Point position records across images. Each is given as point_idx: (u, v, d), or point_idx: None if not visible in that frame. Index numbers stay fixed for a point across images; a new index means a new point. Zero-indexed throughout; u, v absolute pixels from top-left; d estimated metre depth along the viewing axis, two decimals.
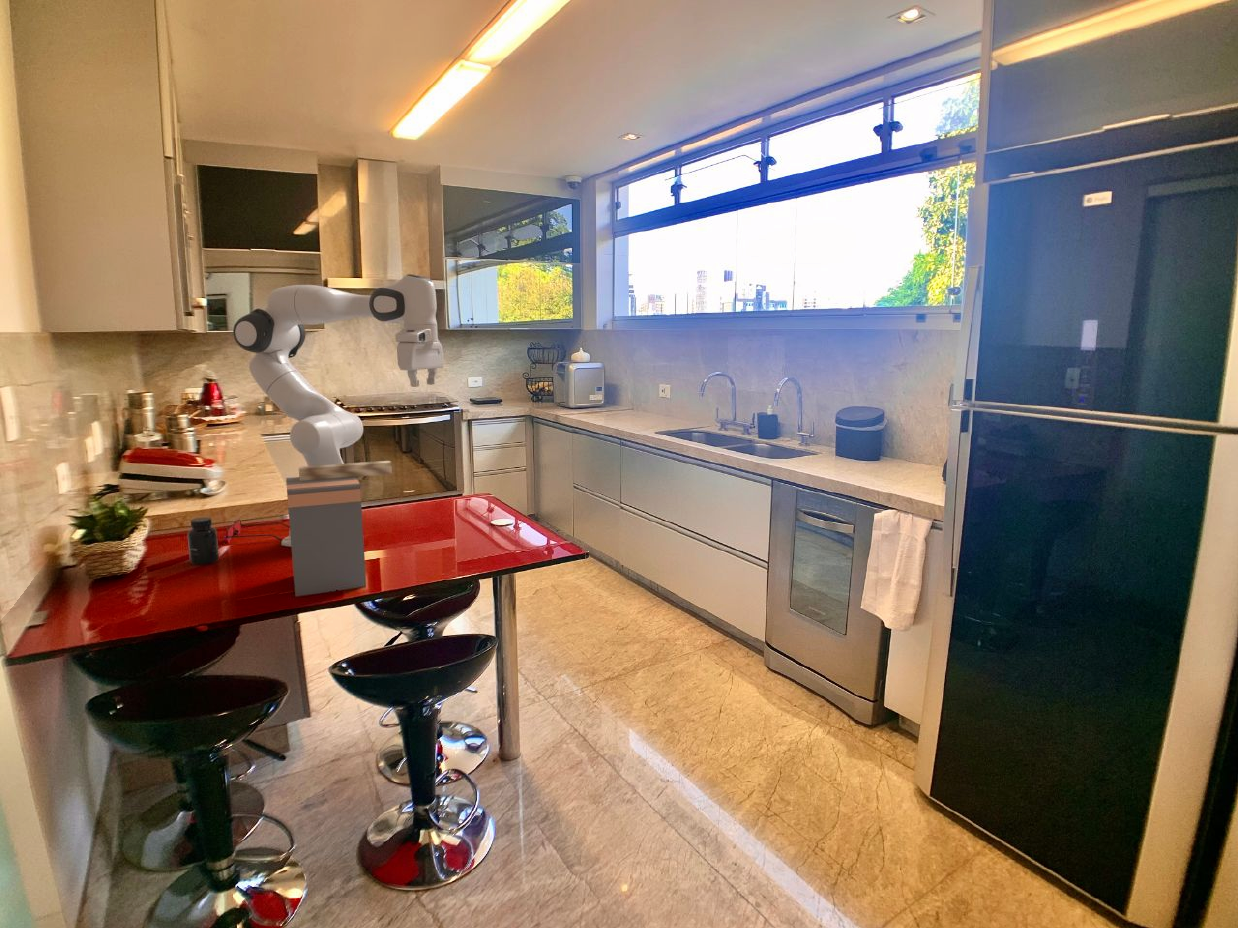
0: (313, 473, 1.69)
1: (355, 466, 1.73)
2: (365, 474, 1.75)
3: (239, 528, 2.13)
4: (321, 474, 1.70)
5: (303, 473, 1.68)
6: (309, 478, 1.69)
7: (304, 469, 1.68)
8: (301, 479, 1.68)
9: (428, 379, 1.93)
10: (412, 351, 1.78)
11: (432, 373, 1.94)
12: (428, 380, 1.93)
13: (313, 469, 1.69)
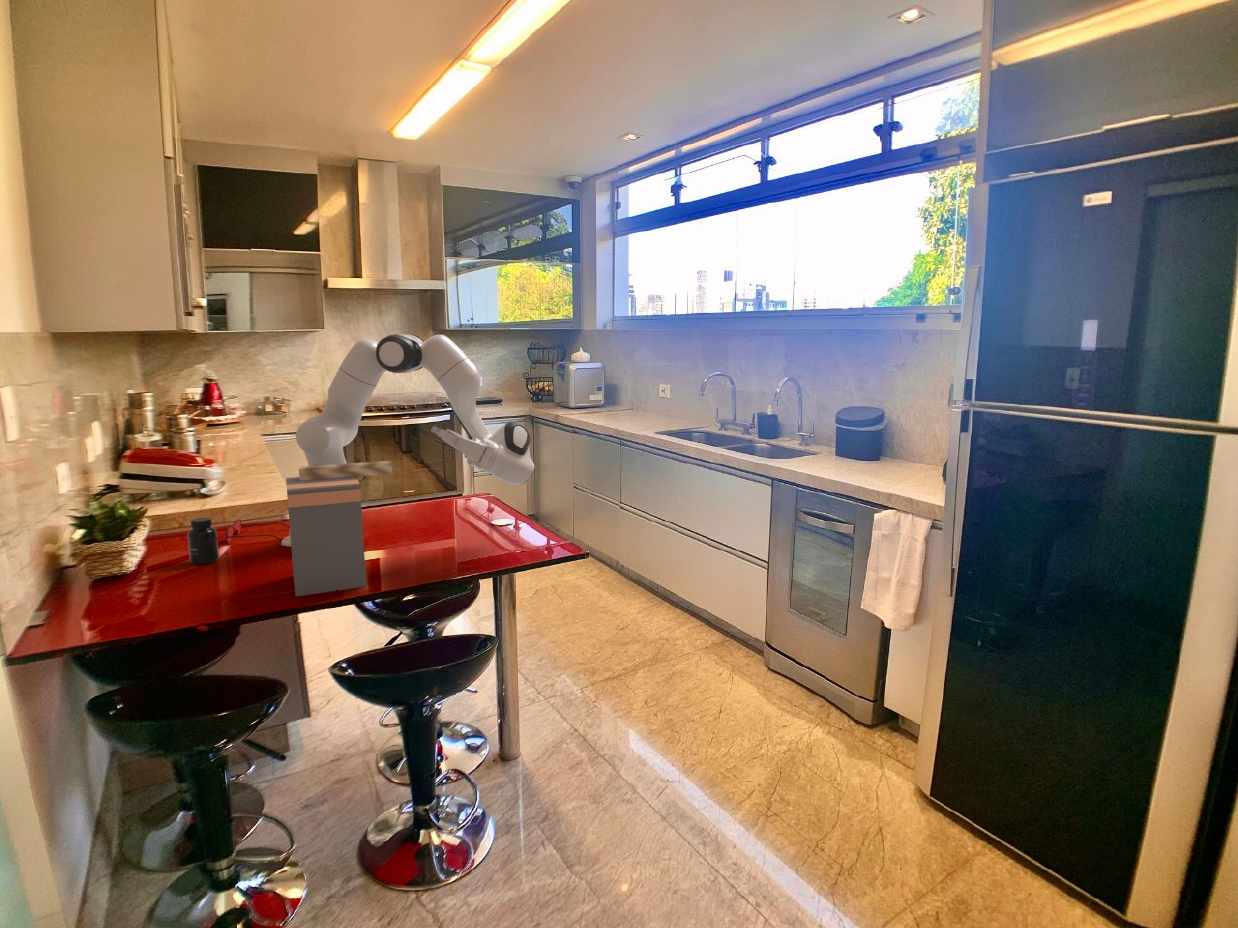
0: (313, 473, 1.69)
1: (355, 466, 1.73)
2: (365, 474, 1.75)
3: (239, 528, 2.13)
4: (321, 474, 1.70)
5: (303, 473, 1.68)
6: (309, 478, 1.69)
7: (304, 469, 1.68)
8: (301, 479, 1.68)
9: (438, 430, 1.87)
10: (472, 458, 1.79)
11: None
12: (438, 429, 1.87)
13: (313, 469, 1.69)
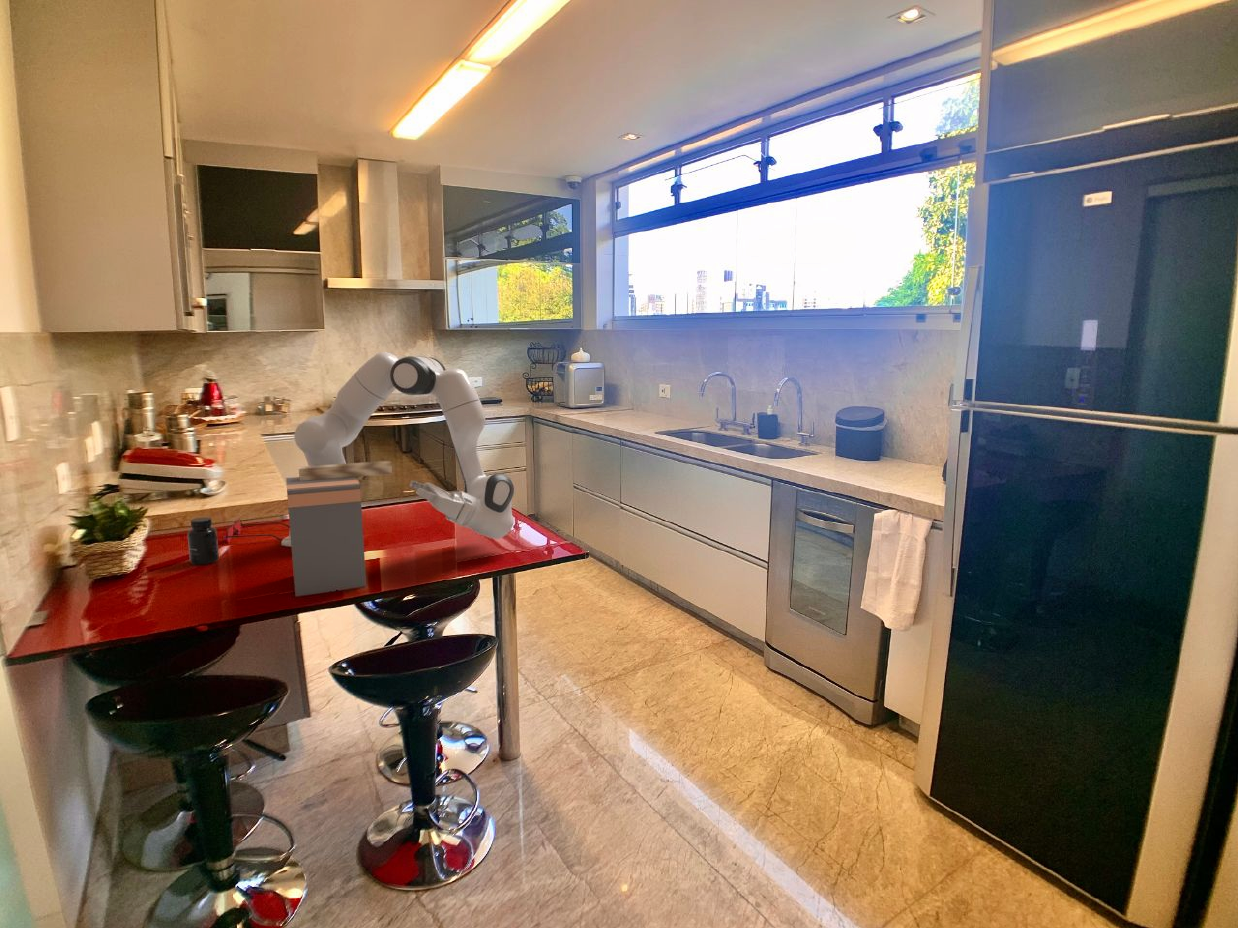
0: (313, 473, 1.69)
1: (355, 466, 1.73)
2: (365, 474, 1.75)
3: (239, 528, 2.13)
4: (321, 474, 1.70)
5: (303, 473, 1.68)
6: (309, 478, 1.69)
7: (304, 469, 1.68)
8: (301, 479, 1.68)
9: (416, 484, 1.87)
10: (449, 516, 1.79)
11: (420, 487, 1.89)
12: (416, 484, 1.87)
13: (313, 469, 1.69)
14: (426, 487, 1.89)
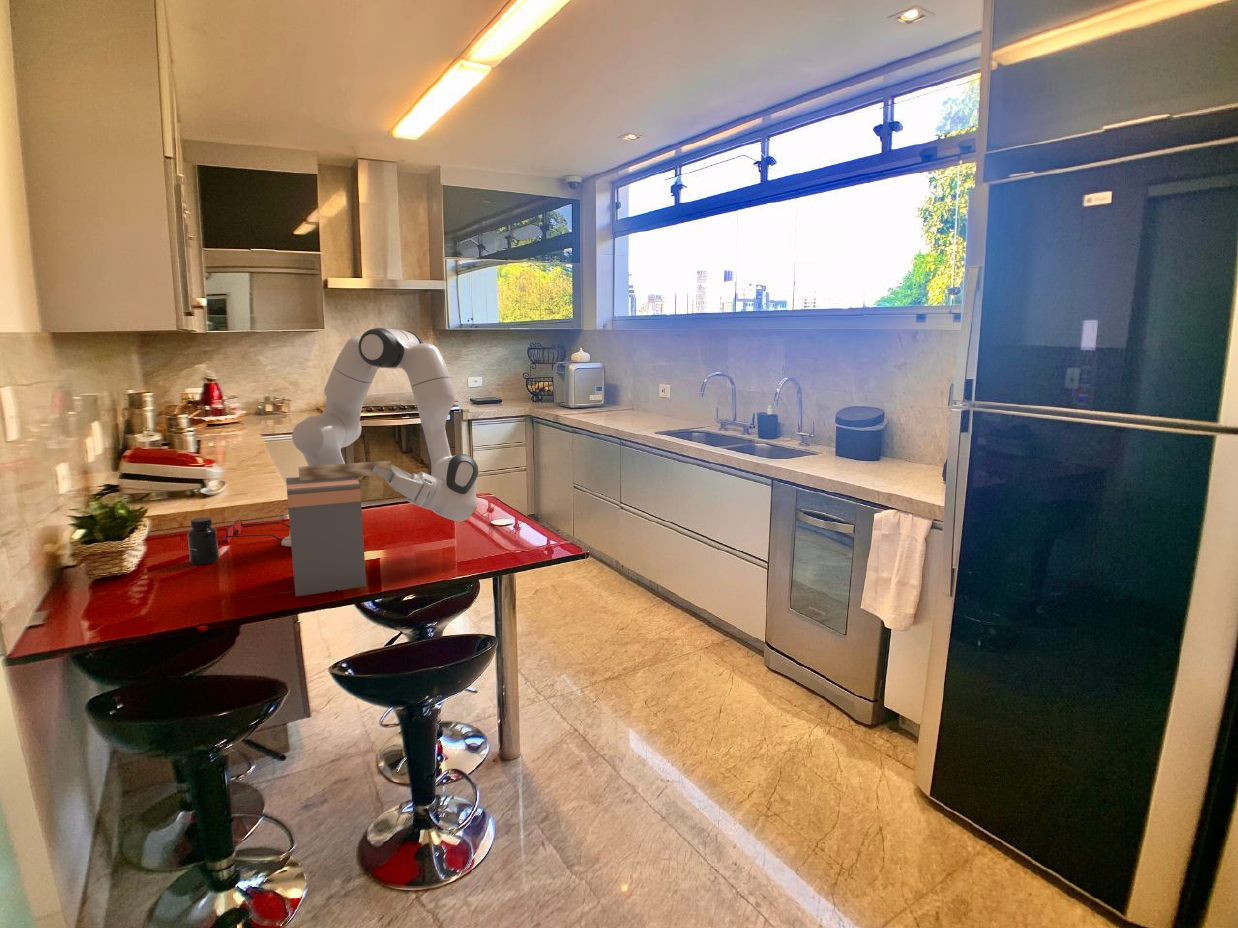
0: (313, 473, 1.69)
1: (355, 466, 1.73)
2: (365, 474, 1.75)
3: (240, 528, 2.13)
4: (321, 474, 1.70)
5: (303, 473, 1.68)
6: (309, 478, 1.69)
7: (304, 469, 1.68)
8: (301, 479, 1.68)
9: None
10: (407, 496, 1.73)
11: None
12: None
13: (313, 469, 1.69)
14: None
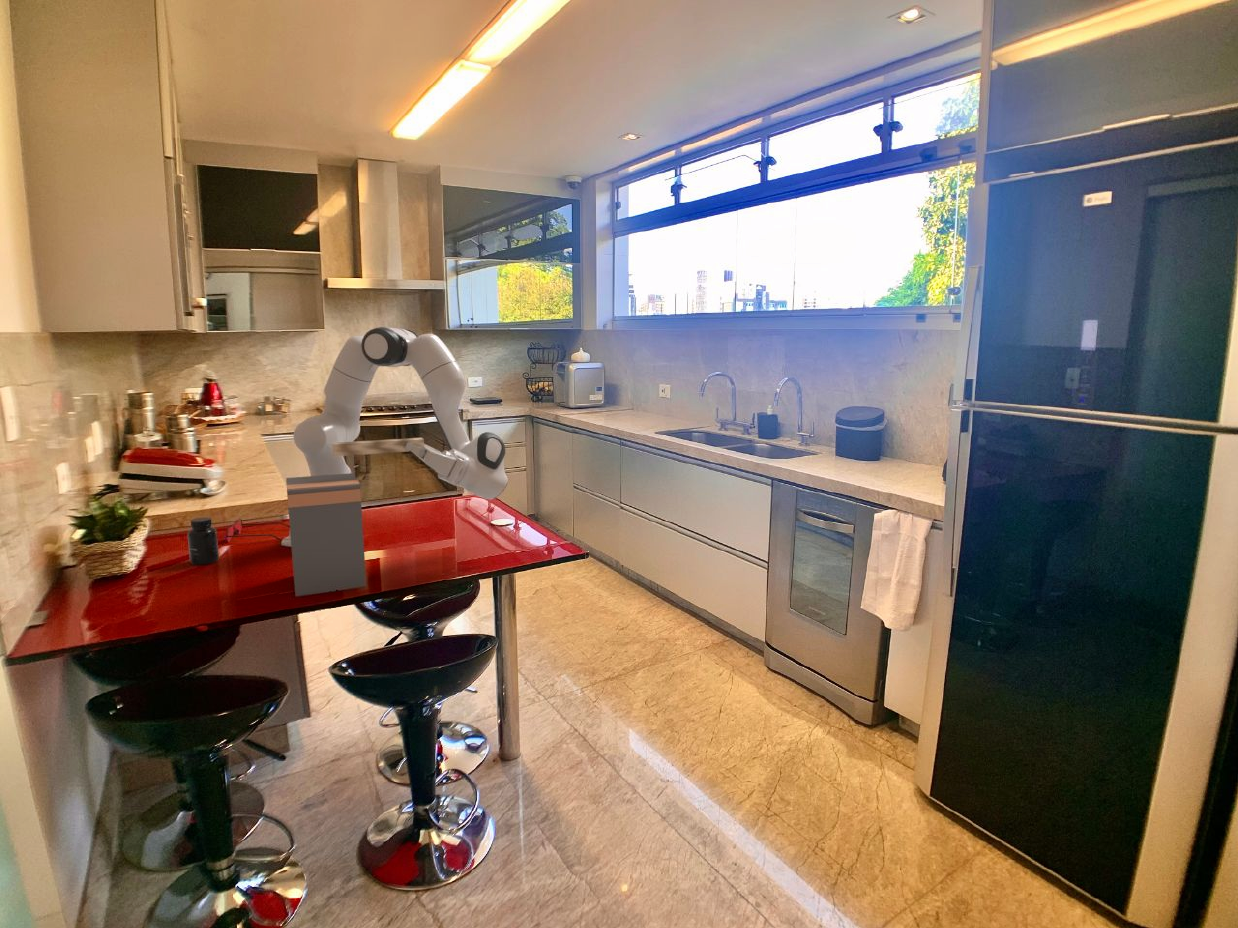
0: (347, 449, 1.69)
1: (388, 442, 1.74)
2: (398, 450, 1.75)
3: (240, 527, 2.13)
4: (355, 449, 1.70)
5: (337, 449, 1.68)
6: (343, 454, 1.69)
7: (338, 445, 1.68)
8: (335, 455, 1.68)
9: None
10: (441, 472, 1.73)
11: None
12: None
13: (347, 445, 1.69)
14: None
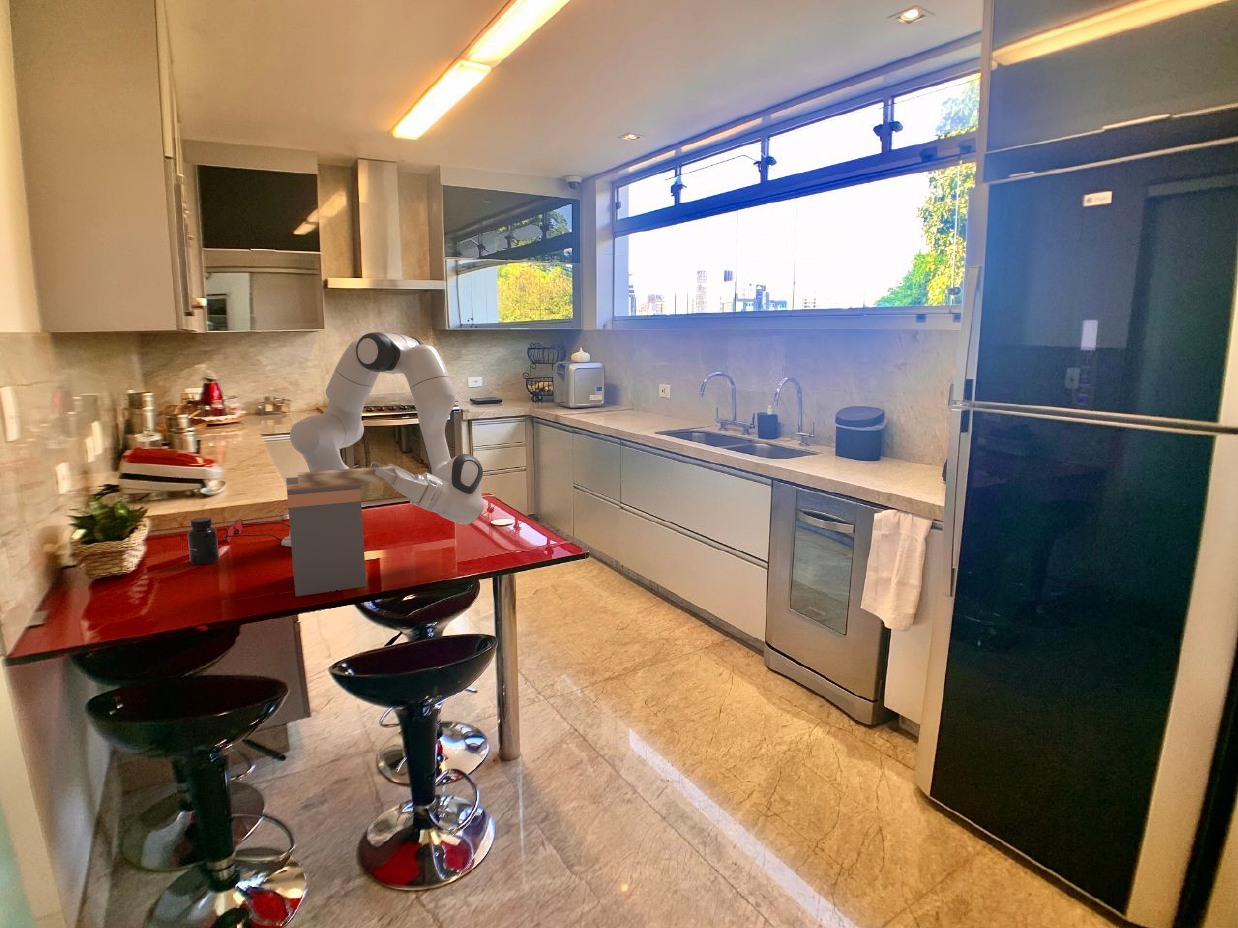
0: (312, 480, 1.61)
1: (357, 472, 1.65)
2: (367, 480, 1.67)
3: (240, 527, 2.13)
4: (321, 480, 1.62)
5: (302, 479, 1.60)
6: (308, 485, 1.61)
7: (303, 475, 1.60)
8: (300, 486, 1.60)
9: (378, 466, 1.72)
10: (411, 499, 1.64)
11: None
12: (377, 465, 1.72)
13: (313, 475, 1.61)
14: None
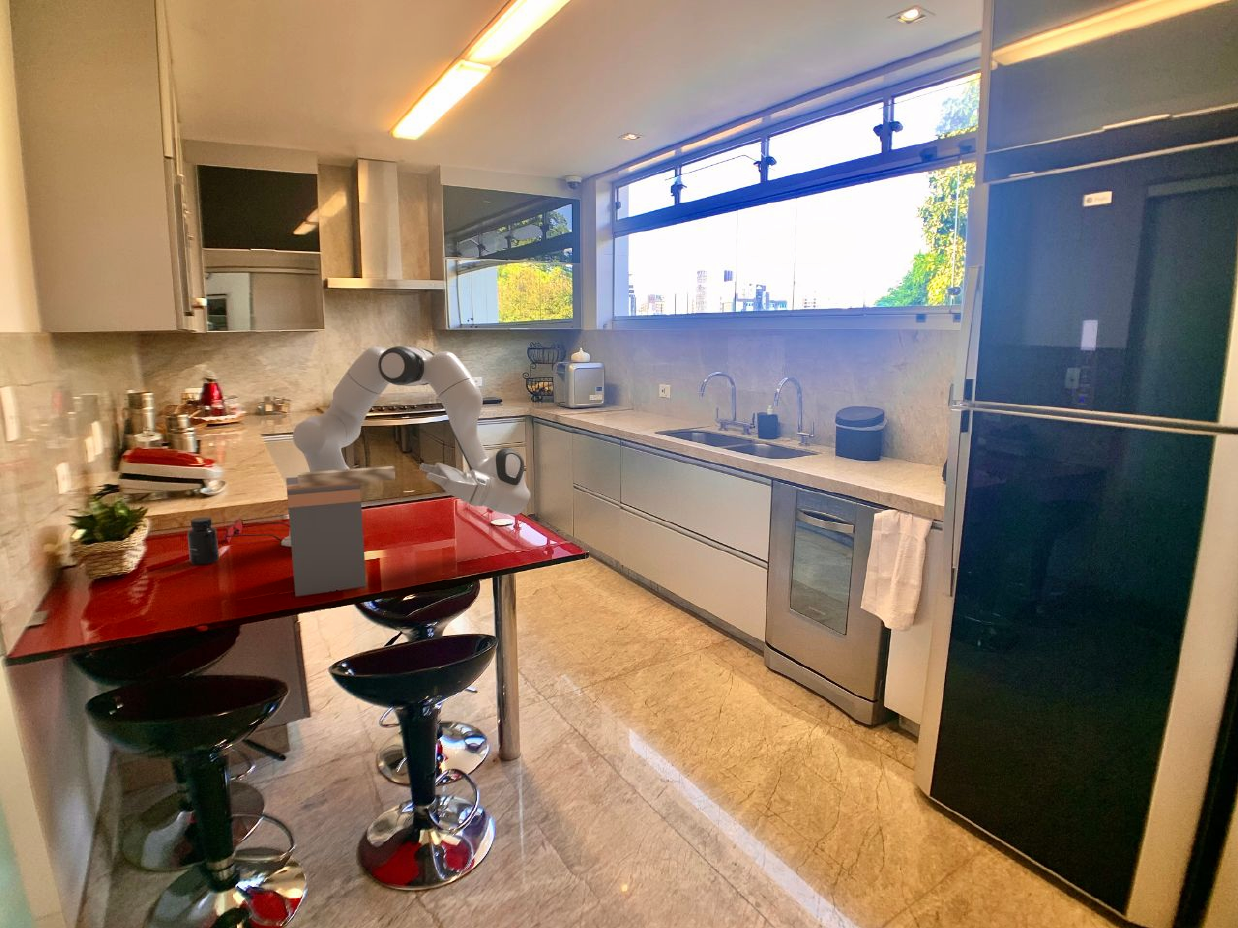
0: (312, 480, 1.61)
1: (357, 472, 1.65)
2: (367, 480, 1.67)
3: (240, 527, 2.13)
4: (321, 480, 1.62)
5: (302, 479, 1.60)
6: (308, 485, 1.61)
7: (303, 475, 1.60)
8: (300, 486, 1.60)
9: (426, 467, 1.79)
10: (463, 499, 1.72)
11: (431, 469, 1.81)
12: (426, 466, 1.79)
13: (313, 475, 1.61)
14: (437, 468, 1.81)
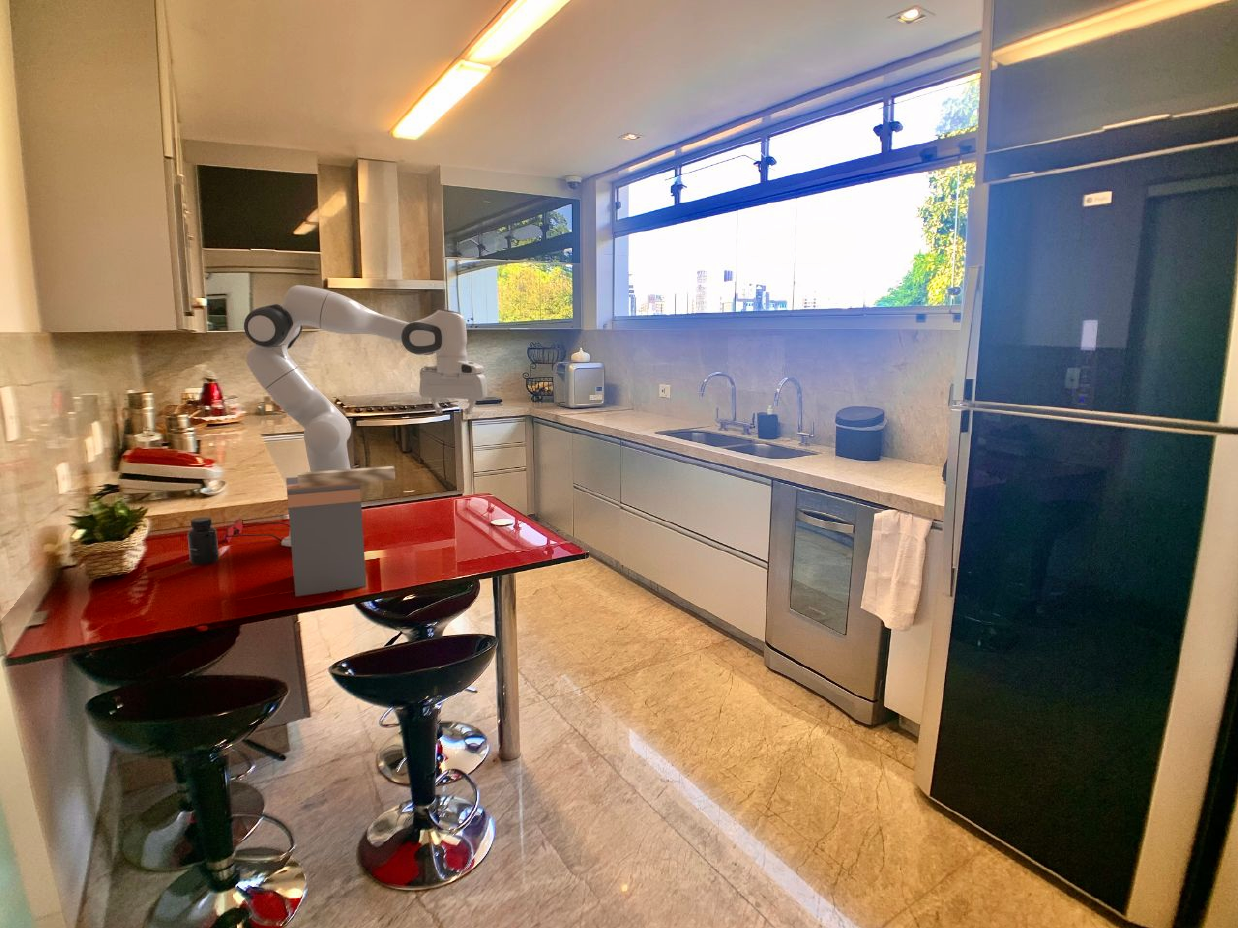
0: (312, 480, 1.61)
1: (357, 472, 1.65)
2: (367, 480, 1.67)
3: (241, 527, 2.14)
4: (321, 480, 1.62)
5: (302, 479, 1.60)
6: (308, 485, 1.61)
7: (303, 475, 1.60)
8: (300, 486, 1.60)
9: (440, 408, 2.00)
10: None
11: (436, 402, 2.01)
12: (440, 409, 2.00)
13: (313, 475, 1.61)
14: (436, 398, 2.00)
